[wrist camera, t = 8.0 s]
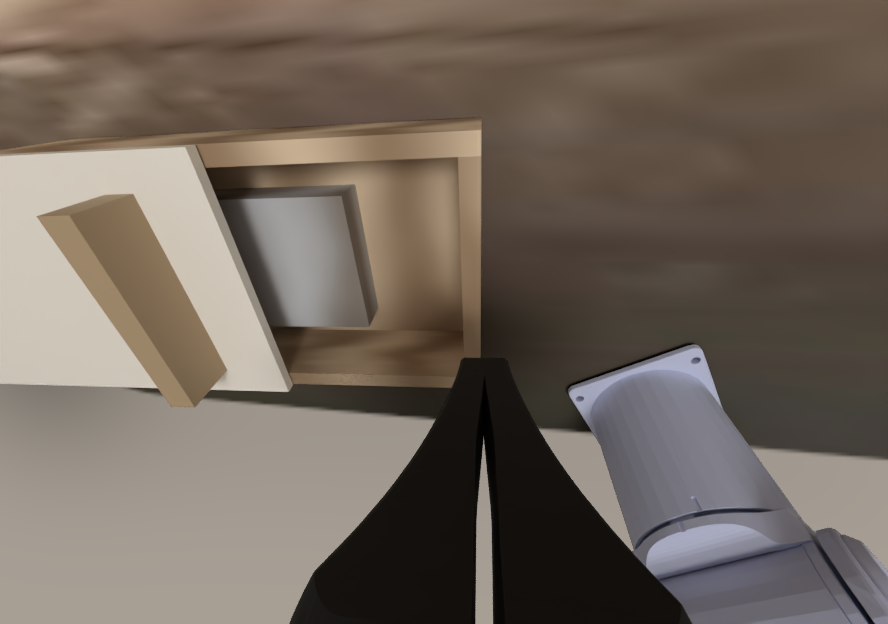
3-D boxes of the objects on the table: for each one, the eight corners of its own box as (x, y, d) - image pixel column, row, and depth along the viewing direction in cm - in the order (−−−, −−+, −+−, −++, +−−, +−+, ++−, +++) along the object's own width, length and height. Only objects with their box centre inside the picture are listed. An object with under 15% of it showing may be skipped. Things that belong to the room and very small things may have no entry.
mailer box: (481, 117, 15) (481, 129, 12) (480, 336, 22) (480, 388, 18) (73, 138, 17) (-36, 155, 14) (185, 333, 24) (132, 379, 20)
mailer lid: (195, 144, 13) (124, 161, 10) (293, 385, 19) (265, 430, 17) (-247, 166, 15) (-395, 185, 12) (-21, 376, 21) (-87, 416, 19)
